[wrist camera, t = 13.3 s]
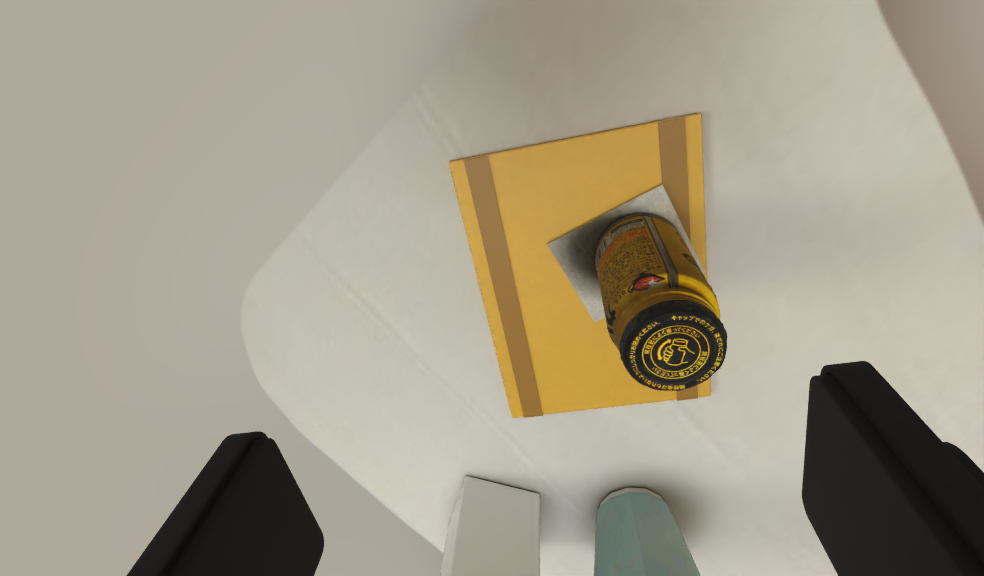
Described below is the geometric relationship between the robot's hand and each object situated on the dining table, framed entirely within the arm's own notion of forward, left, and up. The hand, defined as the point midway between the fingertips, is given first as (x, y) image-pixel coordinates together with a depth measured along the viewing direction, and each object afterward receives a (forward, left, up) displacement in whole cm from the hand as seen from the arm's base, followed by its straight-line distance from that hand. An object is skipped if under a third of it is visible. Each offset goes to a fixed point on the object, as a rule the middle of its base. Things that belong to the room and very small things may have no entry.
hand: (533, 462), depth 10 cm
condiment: (+10, +5, -28) cm, 30 cm away
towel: (+12, +2, -28) cm, 31 cm away
